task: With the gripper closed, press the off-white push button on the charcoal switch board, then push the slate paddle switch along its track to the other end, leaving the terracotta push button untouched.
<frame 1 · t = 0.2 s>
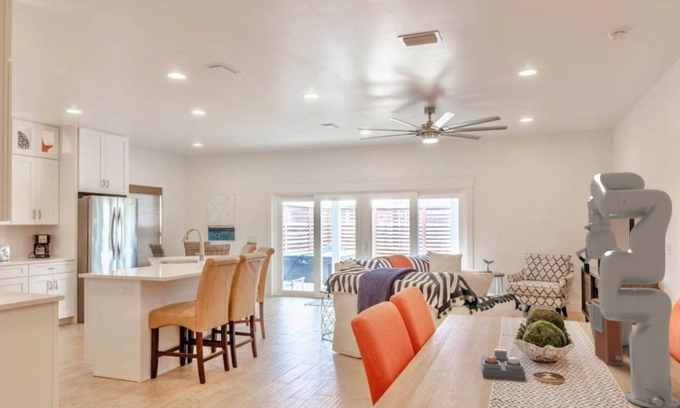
hand: (601, 274, 176), 31 cm above the table, tool pointing down, fingers open, 9 cm apart
control panel: (608, 360, 172), on the table
terracotta button: (491, 359, 158), point 5 cm above the table, slide at 0.0 cm
white button: (513, 360, 156), point 5 cm above the table, slide at 0.0 cm
switch board: (502, 371, 160), on the table
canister: (611, 344, 195), on the table
paddle: (500, 354, 166), point 4 cm above the table, slide at 0.0 cm
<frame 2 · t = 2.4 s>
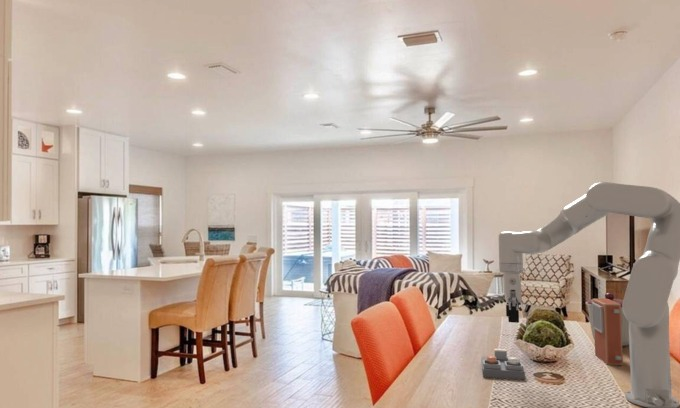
hand: (512, 319, 157), 18 cm above the table, tool pointing down, fingers open, 9 cm apart
nothing on the table moved.
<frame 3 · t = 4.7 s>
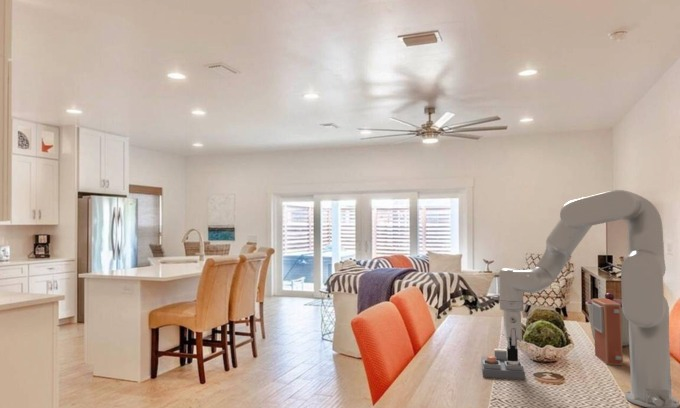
hand: (512, 360, 156), 5 cm above the table, tool pointing down, fingers closed
white button: (513, 362, 156), point 4 cm above the table, slide at 0.7 cm, touching gripper
everything else where it was.
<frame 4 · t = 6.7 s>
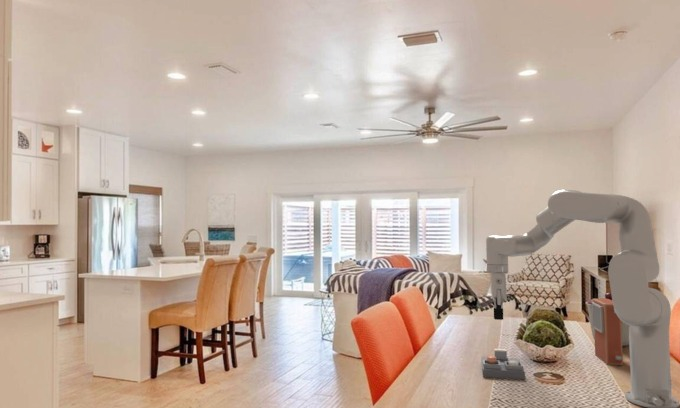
hand: (498, 319, 172), 16 cm above the table, tool pointing down, fingers closed
white button: (513, 364, 156), point 4 cm above the table, slide at 1.1 cm
everything else where it was.
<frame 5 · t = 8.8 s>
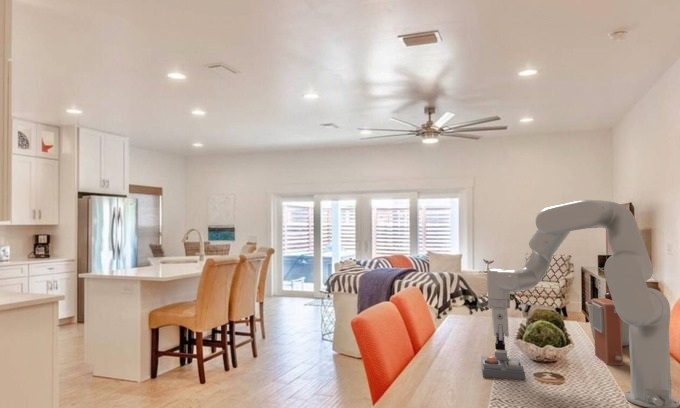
hand: (500, 354, 168), 4 cm above the table, tool pointing down, fingers closed
paddle: (500, 355, 165), point 4 cm above the table, slide at 1.4 cm, touching gripper
everything else where it was.
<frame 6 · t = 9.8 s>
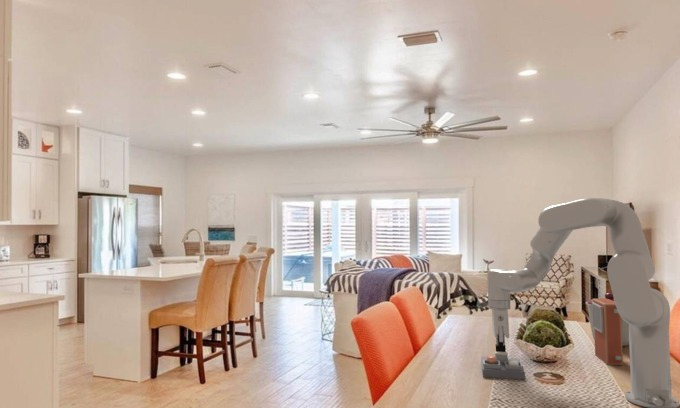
hand: (500, 356, 165), 4 cm above the table, tool pointing down, fingers closed
paddle: (501, 357, 162), point 4 cm above the table, slide at 4.0 cm, touching gripper
everything else where it was.
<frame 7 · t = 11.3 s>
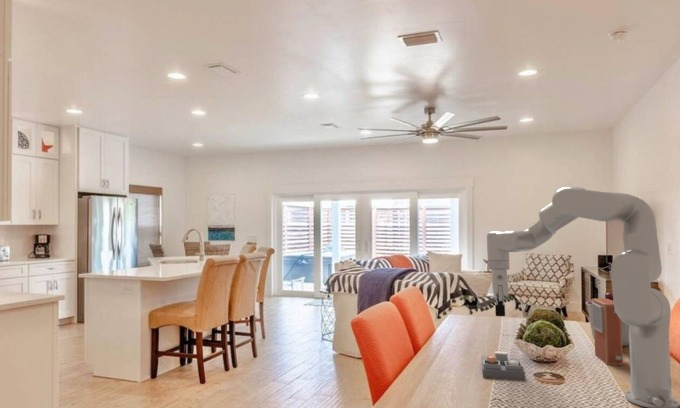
hand: (500, 315, 170), 17 cm above the table, tool pointing down, fingers closed
paddle: (501, 357, 162), point 4 cm above the table, slide at 4.0 cm
everything else where it was.
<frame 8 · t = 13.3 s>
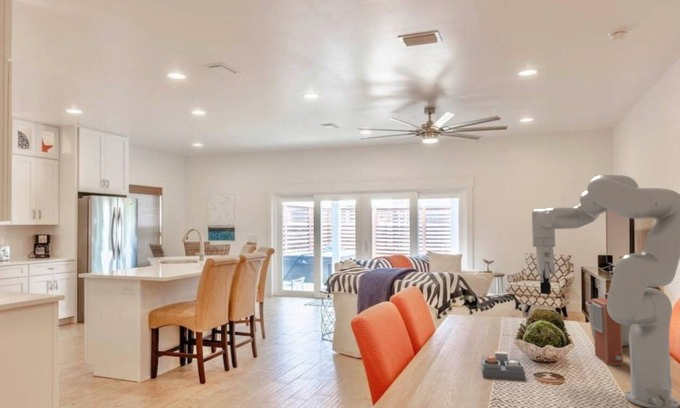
hand: (545, 293, 169), 25 cm above the table, tool pointing down, fingers closed
nothing on the table moved.
at the end: paddle slide at 4.0 cm; white button slide at 1.1 cm; terracotta button slide at 0.0 cm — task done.
